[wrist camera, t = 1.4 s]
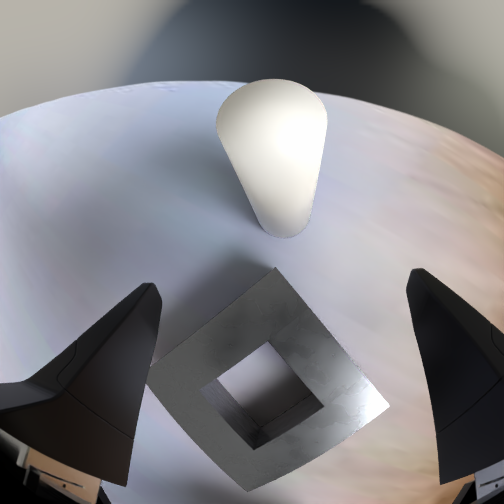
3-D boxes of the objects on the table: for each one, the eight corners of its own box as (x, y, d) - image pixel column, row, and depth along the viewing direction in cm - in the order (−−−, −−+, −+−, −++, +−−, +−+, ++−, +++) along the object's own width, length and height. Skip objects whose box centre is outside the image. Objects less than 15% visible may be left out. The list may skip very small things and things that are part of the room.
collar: (254, 467, 19) (247, 491, 15) (162, 364, 22) (140, 374, 18) (374, 389, 19) (389, 405, 15) (278, 272, 22) (275, 267, 18)
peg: (280, 249, 22) (264, 187, 9) (246, 209, 23) (196, 118, 10) (321, 215, 22) (350, 121, 9) (286, 177, 23) (275, 66, 10)
